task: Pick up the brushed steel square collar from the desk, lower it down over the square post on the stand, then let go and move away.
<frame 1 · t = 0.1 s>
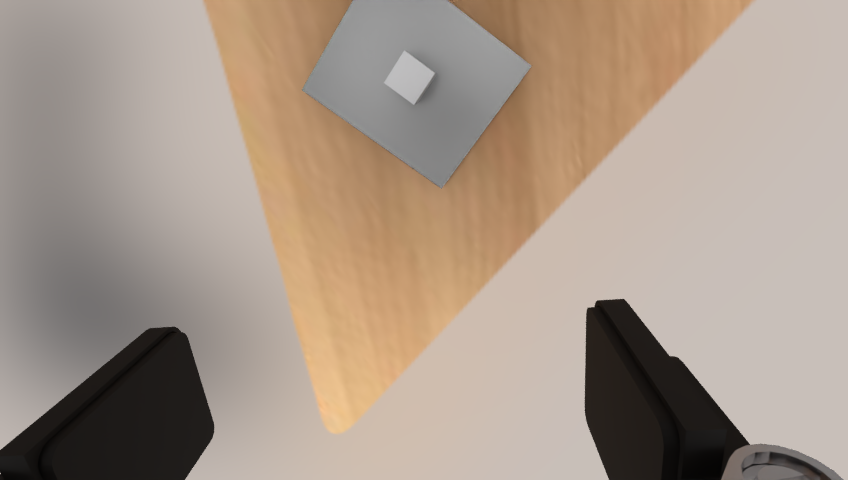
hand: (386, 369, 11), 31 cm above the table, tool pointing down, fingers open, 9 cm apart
stand: (415, 78, 38), on the table
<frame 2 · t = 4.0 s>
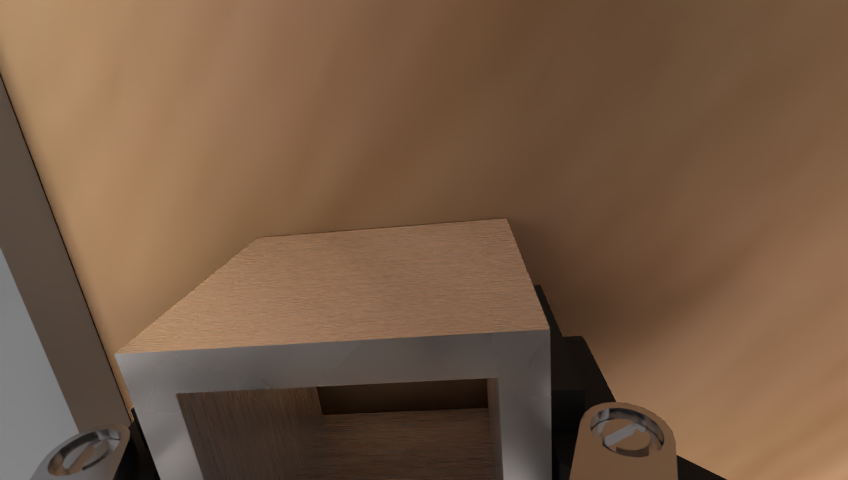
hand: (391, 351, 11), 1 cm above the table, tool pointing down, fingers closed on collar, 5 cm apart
collar: (394, 338, 12), on the table, touching gripper
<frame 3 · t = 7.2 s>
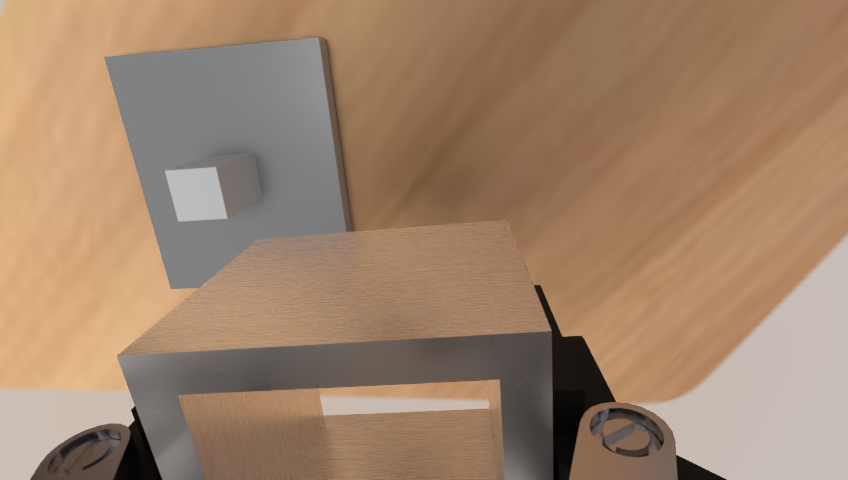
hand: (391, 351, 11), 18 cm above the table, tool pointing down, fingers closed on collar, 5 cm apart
collar: (395, 339, 12), point 17 cm above the table, touching gripper
stand: (247, 171, 28), on the table
when the fingers open (4 cm above the table, at t = 10.6 s): collar drops 1 cm, resting on stand.
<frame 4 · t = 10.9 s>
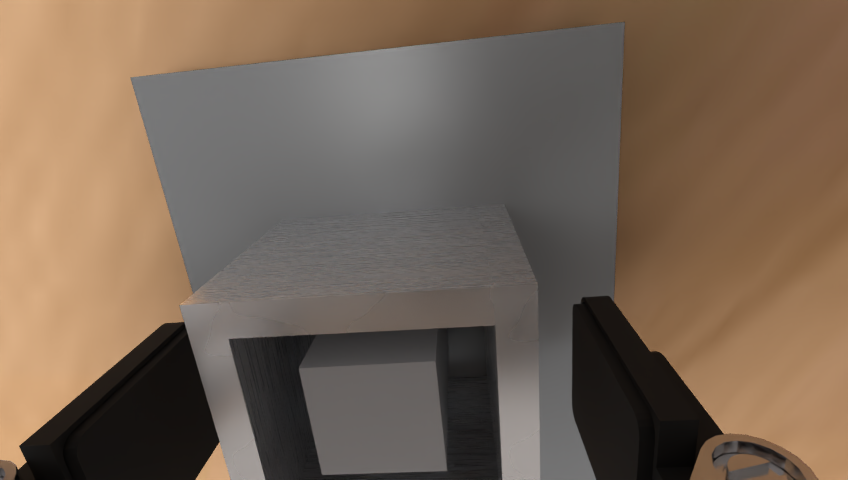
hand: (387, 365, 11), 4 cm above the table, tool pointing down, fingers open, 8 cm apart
collar: (402, 312, 13), point 1 cm above the table, touching stand
stand: (404, 289, 15), on the table
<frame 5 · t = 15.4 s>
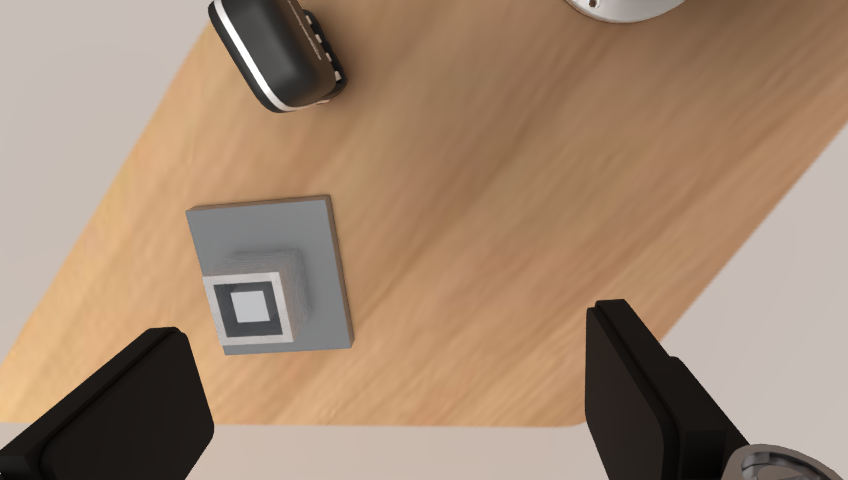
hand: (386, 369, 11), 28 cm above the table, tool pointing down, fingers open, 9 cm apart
collar: (272, 282, 40), point 1 cm above the table, touching stand
battery charger: (319, 54, 35), on the table
stand: (277, 275, 41), on the table
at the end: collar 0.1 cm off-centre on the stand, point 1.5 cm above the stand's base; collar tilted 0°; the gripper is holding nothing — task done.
